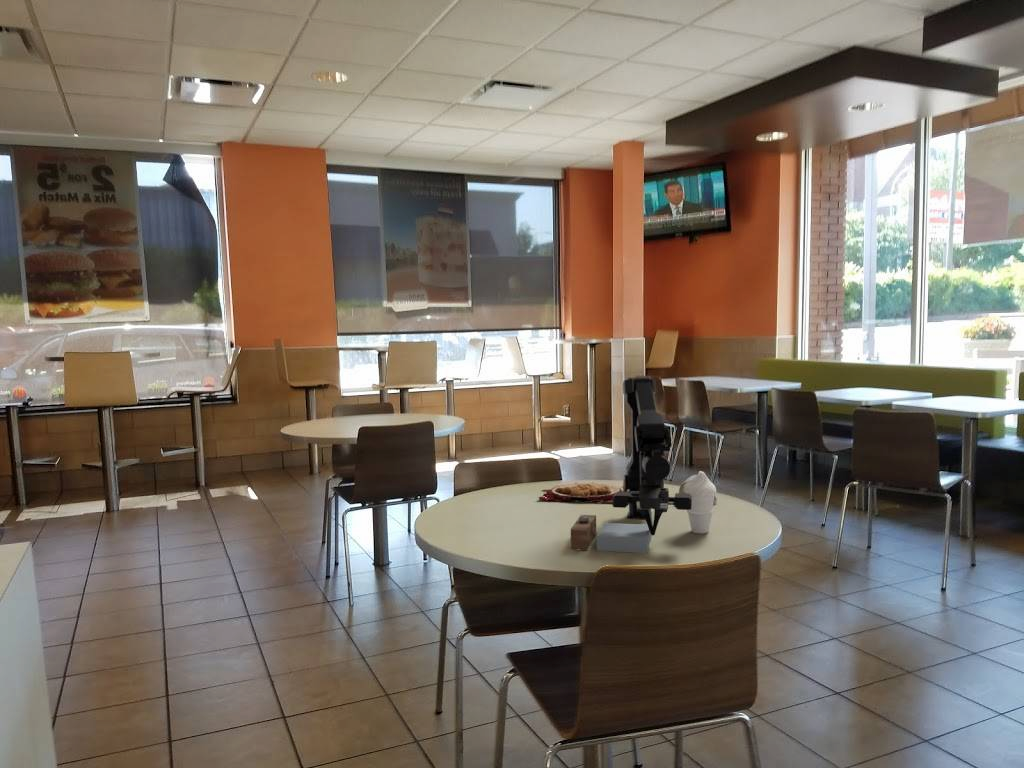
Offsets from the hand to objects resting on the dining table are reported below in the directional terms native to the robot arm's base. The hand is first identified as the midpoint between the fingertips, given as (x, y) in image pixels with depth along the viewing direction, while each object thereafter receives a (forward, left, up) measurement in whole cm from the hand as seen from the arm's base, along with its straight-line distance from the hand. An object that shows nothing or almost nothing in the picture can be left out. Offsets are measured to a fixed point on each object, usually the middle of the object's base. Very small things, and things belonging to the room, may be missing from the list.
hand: (652, 535), depth 178 cm
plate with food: (-52, -26, -3) cm, 58 cm away
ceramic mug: (-46, +10, -3) cm, 48 cm away
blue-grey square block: (0, -7, -3) cm, 8 cm away
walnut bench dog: (0, -17, -2) cm, 17 cm away
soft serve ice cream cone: (-14, +11, -3) cm, 18 cm away
